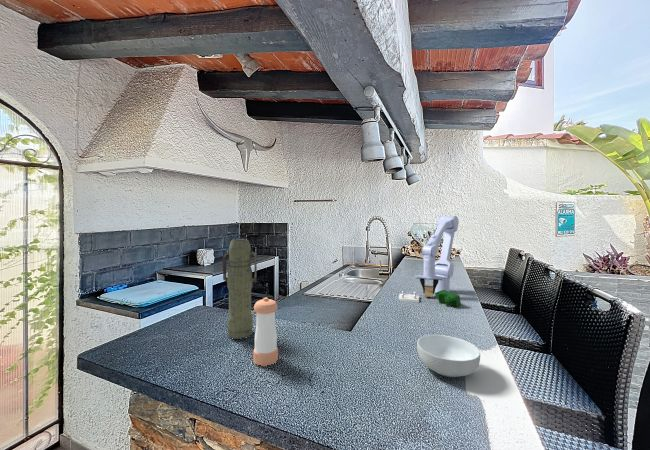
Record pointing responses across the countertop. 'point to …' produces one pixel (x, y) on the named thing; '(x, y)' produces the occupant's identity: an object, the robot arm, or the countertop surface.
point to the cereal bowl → (448, 355)
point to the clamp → (448, 298)
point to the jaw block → (428, 291)
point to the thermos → (239, 288)
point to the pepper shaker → (265, 333)
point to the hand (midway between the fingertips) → (428, 293)
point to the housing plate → (409, 297)
